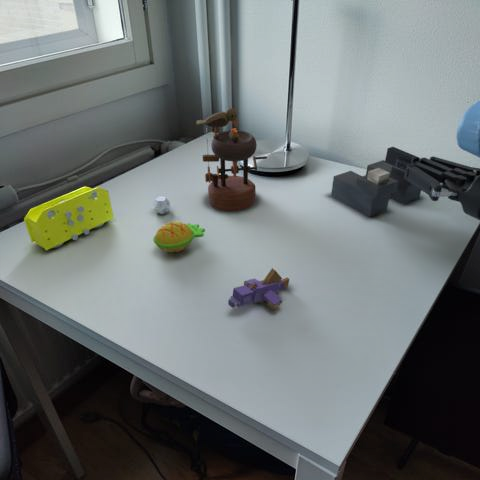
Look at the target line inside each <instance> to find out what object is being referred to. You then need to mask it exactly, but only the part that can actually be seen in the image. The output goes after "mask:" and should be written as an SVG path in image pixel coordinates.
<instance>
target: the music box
mask: <svg viewBox="0 0 480 480" xmlns="http://www.w3.org/2000/svg"><path fill="white" fill-rule="evenodd" d="M237 117H238V112H237V110H236V109H235V108H233V107H229V108H227V109H226V111H218V112H216V113H213V114H211V115H210V116H208V117H207V118H205V119H197V120H196V124H195V126H201V125H205V126H206V129H205V132H206V133H208V128H209V127H210V128H213V129H214V130H213V133H214V135H213V137H212V140H211V145H210V146H211V151H212V153H213V154H203V155H202V162H205V163H207V172H206V173H205V174H204V180H205V183H209V184H208V187H207V193H208V194H207V195H208V203H209V205H210V206H211V207H212V208H214V209H215V210H218V211H223V212H240V211H245V210H247V209H249V208H251V207H253V205H254V204H255V203H256V193H257V191H256V189H257V188H256V184H255V183H254V182H253V181H251V179H250V178H249V172H251V170H254V171H258V165H257V160H267V159H268V157H267V156H265V155H263V156H255V155H254V154H255V152H256V151H257V145H258V144H257V140H256V138H255V137H254V135H253V134H252V133H250V132H247V131H244V130H238V129H237V127H238V124H237V123H238V122H237ZM229 122H231V123H232V124H233V125H234V126H235V127H236V128H233V127H232V128H230V129H231V130H226V131H221V132H218V128H224V127H226V126H228V124H229ZM206 147H207V148H206V150H207V152H209V141H208V139H206ZM251 157H252V161H253V166H250V165H249V159H250V158H251ZM241 161H243V163H242V164H243V165H242V166H243V167H239V165H238V162H241ZM209 162H211V163H212V162H213V163H215V162H216V163H218V162H220V164H219V165H220V167H219V166H218V165H217V166H216V173H212V172H211V169H210V168H211V167H210V163H209ZM226 162H231V163H232V165H231V166H230V168H226ZM240 171H243V172H242V173H243V174H242V175H243V176H241V175H237V174H239V173H240ZM226 172H231V174H232V175H229V174H228V173H226Z"/></svg>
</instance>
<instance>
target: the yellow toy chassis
mask: <svg viewBox="0 0 480 480" xmlns="http://www.w3.org/2000/svg"><path fill="white" fill-rule="evenodd" d="M110 198H111V197H110V193H109V190H107V189H104V188H103V187H100V186H96V187H95V188H92V187H89V186H82V187H80V188H78V189H76V190H73V191H70V192H68V193H66V194H63V195H61V196H58V197H56V198H54V199H51V200H49V201H47V202H44V203H41V204H39V205H37V206H34V207H32V208H30V209H29V211H28V212H27V214H26V215H25V216H24V218H23V222H24V224H25V227H26V229H27V232H28V235H29V238H30V241H31V243H35V244H36V245H38V246H39V247H41V248H43V249H44V250H45V251H48V250H50V249H57V248H60V247H62V246H63V245H64V243H65V242H67V241H69V240H73V241H77V240H78V239H79V236H80V235H82V234H84V235H86V236H87V235H89V234H90V230H92V229H97V228H101V227H103V226H104V224H105V223H106V222H109V221H111V220H113V219H114V218H115V217H114V212H113V208H112V203H111V199H110Z"/></svg>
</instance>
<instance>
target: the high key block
mask: <svg viewBox="0 0 480 480" xmlns="http://www.w3.org/2000/svg"><path fill="white" fill-rule="evenodd" d="M367 177H368V175H366V174H365V175H360V174H359V173H357V172H355V171H353V170H349V171H345V172H342V173H340V174H336V175H333V179H332V186H331V194H330V196H331V197H333V198H334V199H336V200H338V201H339V202H341V203H343V204H345V205H347V206H349V207H350V208H352V209H353V210H356V211H357V212H358V213H361V214H362V215H364V216H366V217H368V218H373V217H374V216H376V215H379V214H382V213H385V212H387V210H388V207H389V203H390V199H391V198H390V194H391V193H393V192H396V189H397V185H398V181H397V180H395V179H393V178H391V177H389V178H388V181H387V182H385V183H382V184H379V185H377V184H375V183H373V182H371V181H369V180H367Z"/></svg>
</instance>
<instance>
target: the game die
mask: <svg viewBox="0 0 480 480" xmlns="http://www.w3.org/2000/svg"><path fill="white" fill-rule="evenodd" d="M152 208H153V210H154V211H155V212H156V213H158V214H160V215H164V214H166V213H169V210H170V209H171V202H170V200H168V198H167V197H165V196H158V197H155V199H154V200H153V204H152Z"/></svg>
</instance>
